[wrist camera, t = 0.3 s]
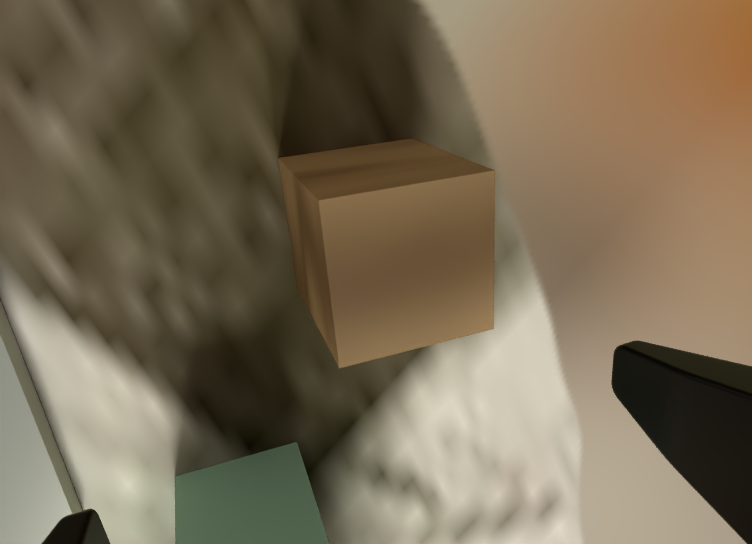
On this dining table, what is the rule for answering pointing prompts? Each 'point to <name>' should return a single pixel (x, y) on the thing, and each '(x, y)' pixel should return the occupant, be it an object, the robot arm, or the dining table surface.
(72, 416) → the dining table surface
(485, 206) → the walnut block
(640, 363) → the robot arm
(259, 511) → the teal block
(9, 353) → the baseplate
